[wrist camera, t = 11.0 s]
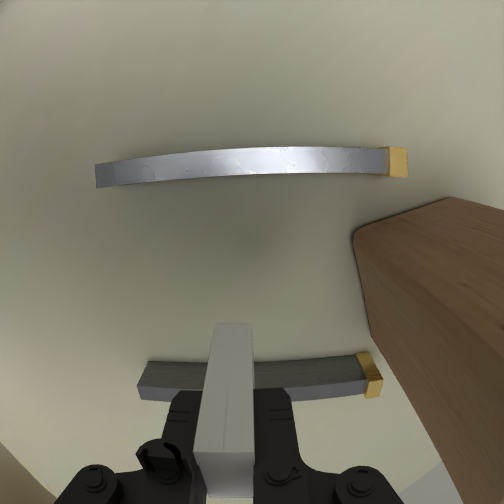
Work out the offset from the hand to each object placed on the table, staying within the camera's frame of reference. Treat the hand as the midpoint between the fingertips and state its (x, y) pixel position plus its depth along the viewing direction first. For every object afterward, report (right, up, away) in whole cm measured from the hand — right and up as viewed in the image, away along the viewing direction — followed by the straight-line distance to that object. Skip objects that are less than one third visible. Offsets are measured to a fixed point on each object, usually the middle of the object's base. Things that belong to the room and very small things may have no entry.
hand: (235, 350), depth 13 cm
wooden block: (+14, +3, +10) cm, 17 cm away
